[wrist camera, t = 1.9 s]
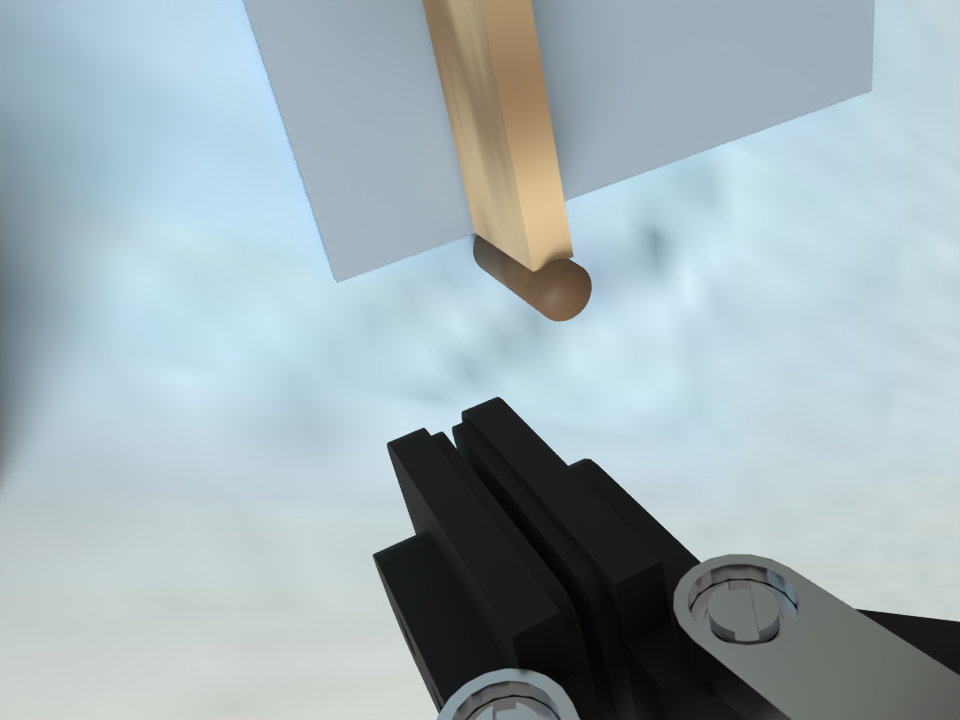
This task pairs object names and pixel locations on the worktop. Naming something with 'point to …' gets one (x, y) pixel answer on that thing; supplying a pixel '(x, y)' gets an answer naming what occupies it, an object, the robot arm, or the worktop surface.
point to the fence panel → (507, 149)
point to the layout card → (570, 93)
